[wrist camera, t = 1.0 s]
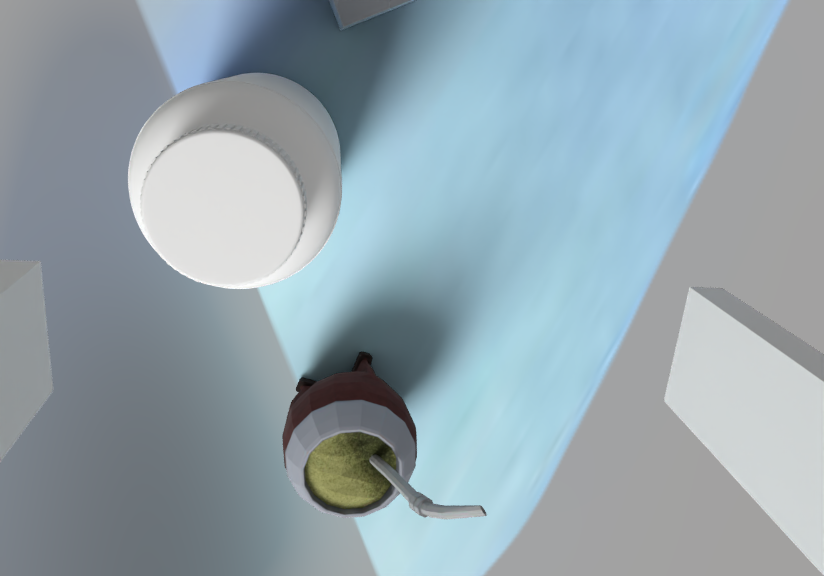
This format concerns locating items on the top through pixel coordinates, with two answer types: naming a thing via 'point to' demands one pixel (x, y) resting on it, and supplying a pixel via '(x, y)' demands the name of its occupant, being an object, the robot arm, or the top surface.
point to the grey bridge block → (362, 10)
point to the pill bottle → (238, 180)
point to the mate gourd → (355, 446)
